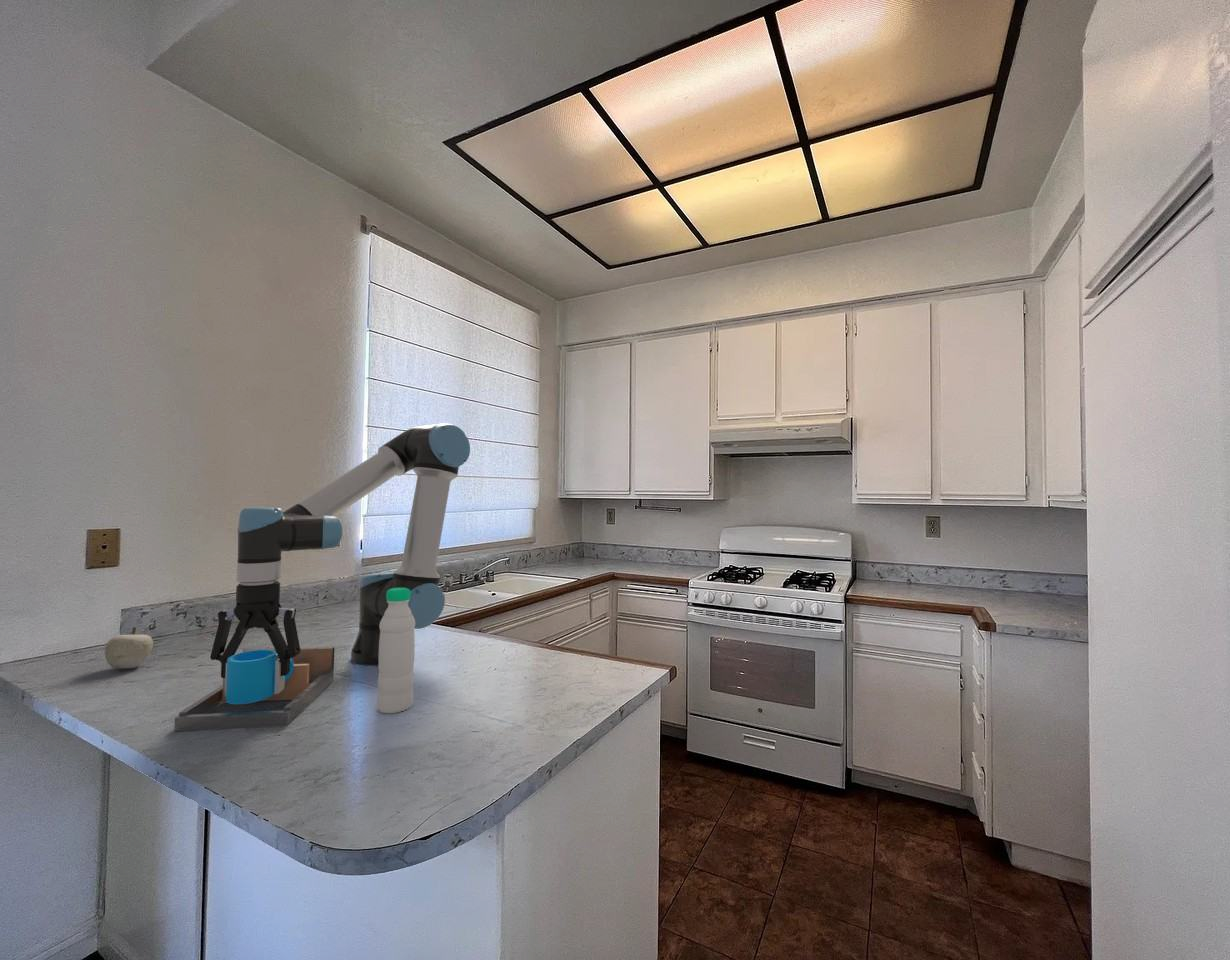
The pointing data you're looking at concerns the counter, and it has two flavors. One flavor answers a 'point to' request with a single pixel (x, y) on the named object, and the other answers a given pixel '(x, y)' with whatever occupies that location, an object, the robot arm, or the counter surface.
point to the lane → (200, 720)
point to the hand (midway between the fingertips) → (255, 692)
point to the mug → (252, 676)
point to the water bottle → (396, 654)
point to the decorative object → (128, 650)
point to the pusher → (288, 684)
